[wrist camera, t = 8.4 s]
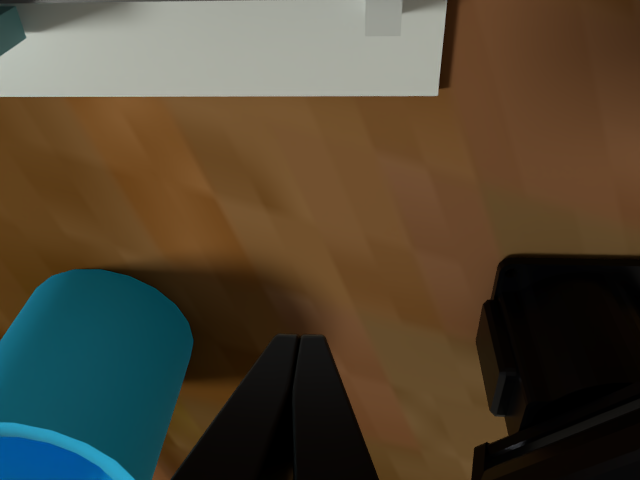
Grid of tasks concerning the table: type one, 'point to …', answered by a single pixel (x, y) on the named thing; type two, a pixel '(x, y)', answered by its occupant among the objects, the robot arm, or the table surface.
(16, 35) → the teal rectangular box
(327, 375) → the robot arm
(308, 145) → the table surface
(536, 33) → the table surface
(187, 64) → the sliding vise on plate
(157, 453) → the mug
